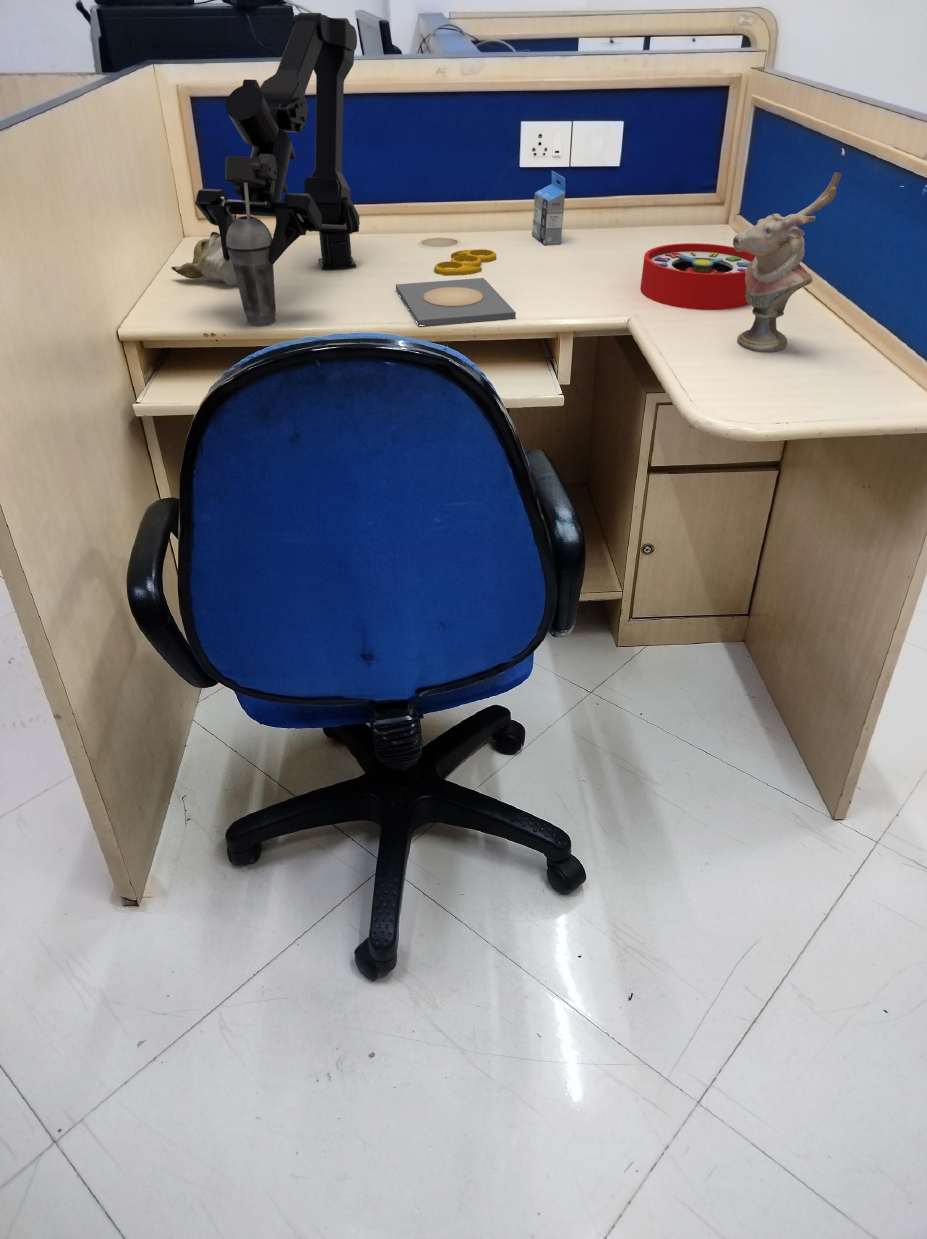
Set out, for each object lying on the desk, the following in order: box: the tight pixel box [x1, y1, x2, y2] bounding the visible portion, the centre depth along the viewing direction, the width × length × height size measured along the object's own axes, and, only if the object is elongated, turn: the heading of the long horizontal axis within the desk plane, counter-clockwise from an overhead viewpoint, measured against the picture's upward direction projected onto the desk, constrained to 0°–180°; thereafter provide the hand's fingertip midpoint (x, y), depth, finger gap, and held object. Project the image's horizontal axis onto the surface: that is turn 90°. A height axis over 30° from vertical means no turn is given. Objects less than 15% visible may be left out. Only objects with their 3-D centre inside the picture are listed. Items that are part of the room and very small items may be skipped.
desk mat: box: [395, 277, 517, 327], centre depth 142 cm, size 20×16×1 cm
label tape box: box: [531, 170, 566, 246], centre depth 173 cm, size 9×4×12 cm, turn 14°
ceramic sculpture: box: [170, 231, 238, 287], centre depth 152 cm, size 11×9×15 cm
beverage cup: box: [226, 183, 277, 327], centre depth 130 cm, size 7×7×20 cm
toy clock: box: [639, 242, 755, 311], centre depth 146 cm, size 20×6×20 cm
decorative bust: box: [732, 171, 843, 353], centre depth 119 cm, size 11×12×24 cm
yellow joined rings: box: [433, 248, 497, 277], centre depth 162 cm, size 17×2×10 cm
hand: (248, 260), depth 129 cm, fingers closed on beverage cup, 7 cm apart
